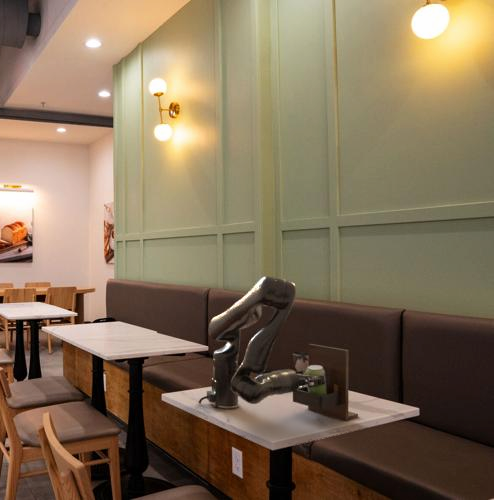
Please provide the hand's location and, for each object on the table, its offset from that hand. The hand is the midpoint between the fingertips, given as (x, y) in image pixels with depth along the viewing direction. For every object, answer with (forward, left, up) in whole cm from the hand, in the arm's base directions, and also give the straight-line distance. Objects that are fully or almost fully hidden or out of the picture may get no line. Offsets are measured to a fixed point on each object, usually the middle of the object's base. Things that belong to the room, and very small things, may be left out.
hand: (312, 376), depth 177 cm
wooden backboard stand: (+5, +3, -15) cm, 16 cm away
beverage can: (+2, +1, -9) cm, 9 cm away
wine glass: (+14, +40, -15) cm, 45 cm away
